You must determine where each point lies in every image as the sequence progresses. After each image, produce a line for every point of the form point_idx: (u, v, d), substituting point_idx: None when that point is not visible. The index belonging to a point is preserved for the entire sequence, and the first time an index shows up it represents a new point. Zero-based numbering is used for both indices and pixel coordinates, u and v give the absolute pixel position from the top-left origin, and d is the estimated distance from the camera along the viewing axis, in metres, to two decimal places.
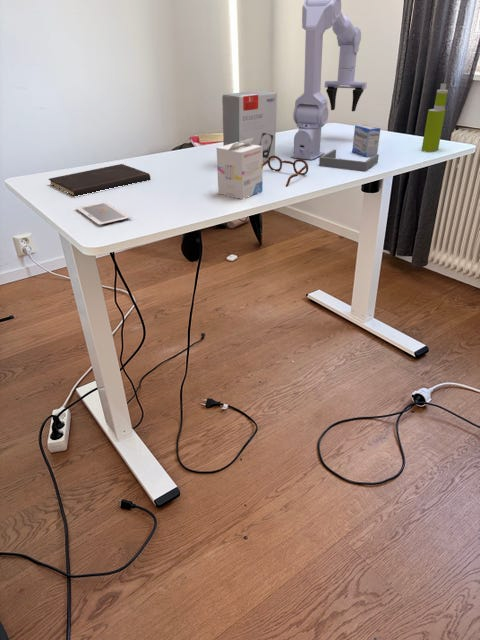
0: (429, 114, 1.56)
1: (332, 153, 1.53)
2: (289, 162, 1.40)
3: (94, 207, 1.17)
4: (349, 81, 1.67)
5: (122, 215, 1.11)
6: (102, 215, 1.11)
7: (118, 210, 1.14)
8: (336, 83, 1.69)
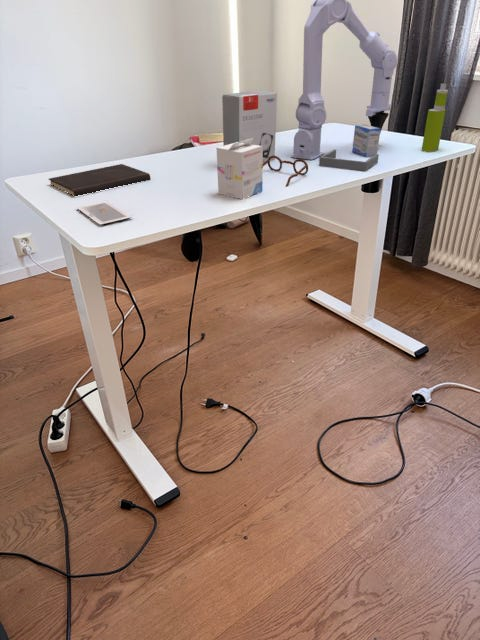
0: (429, 114, 1.56)
1: (332, 153, 1.53)
2: (289, 162, 1.40)
3: (95, 207, 1.17)
4: None
5: (123, 215, 1.11)
6: (103, 215, 1.12)
7: (119, 210, 1.15)
8: (382, 109, 1.58)
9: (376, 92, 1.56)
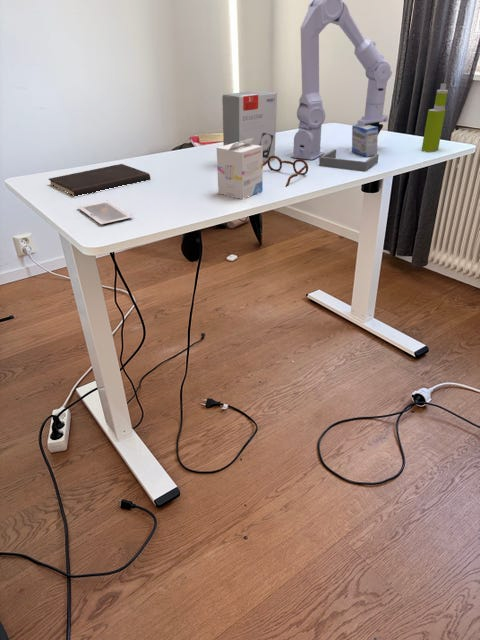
0: (429, 114, 1.56)
1: (332, 153, 1.53)
2: (289, 162, 1.40)
3: (96, 206, 1.17)
4: None
5: (124, 215, 1.11)
6: (104, 215, 1.12)
7: (120, 210, 1.15)
8: (374, 120, 1.55)
9: (369, 103, 1.54)
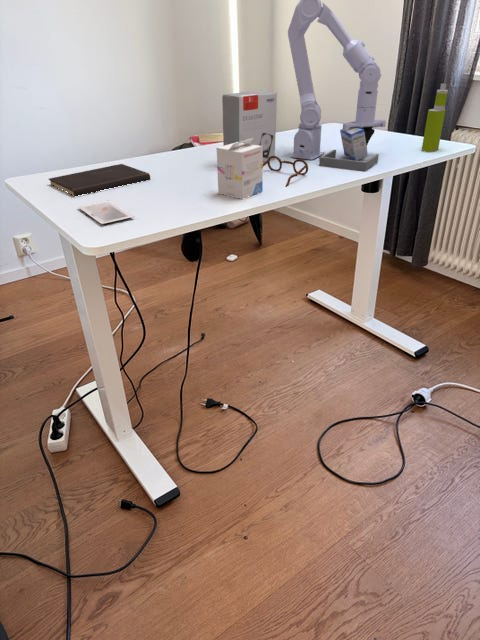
0: (429, 114, 1.56)
1: (332, 153, 1.53)
2: (289, 162, 1.40)
3: (97, 206, 1.17)
4: (374, 121, 1.51)
5: (124, 215, 1.11)
6: (105, 215, 1.12)
7: (121, 209, 1.15)
8: (362, 125, 1.49)
9: (358, 106, 1.49)
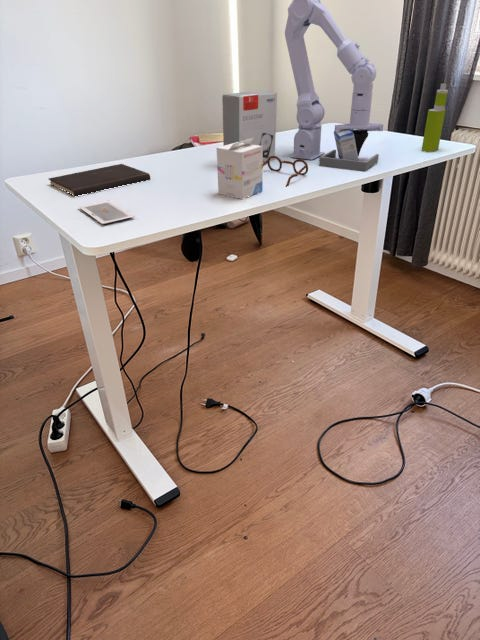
0: (429, 114, 1.56)
1: (332, 153, 1.53)
2: (289, 162, 1.40)
3: (97, 206, 1.17)
4: (367, 124, 1.46)
5: (125, 215, 1.11)
6: (105, 214, 1.12)
7: (121, 209, 1.15)
8: (353, 127, 1.46)
9: (351, 108, 1.46)
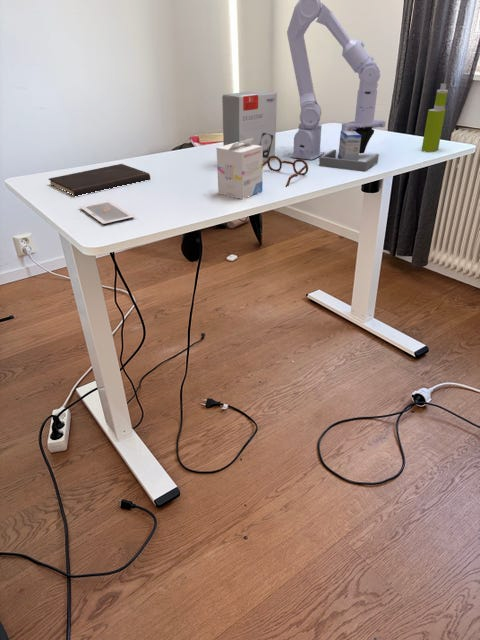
0: (429, 114, 1.56)
1: (332, 153, 1.53)
2: (289, 162, 1.40)
3: (98, 206, 1.17)
4: (373, 121, 1.50)
5: (126, 215, 1.12)
6: (106, 214, 1.12)
7: (122, 209, 1.15)
8: (361, 125, 1.49)
9: (357, 106, 1.48)
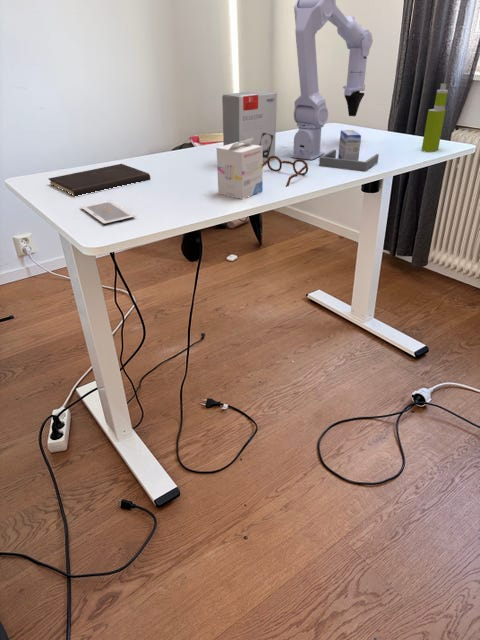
0: (429, 114, 1.56)
1: (332, 153, 1.53)
2: (289, 162, 1.40)
3: (99, 206, 1.17)
4: None
5: (127, 214, 1.12)
6: (107, 214, 1.12)
7: (123, 209, 1.15)
8: (359, 88, 1.60)
9: (353, 72, 1.59)
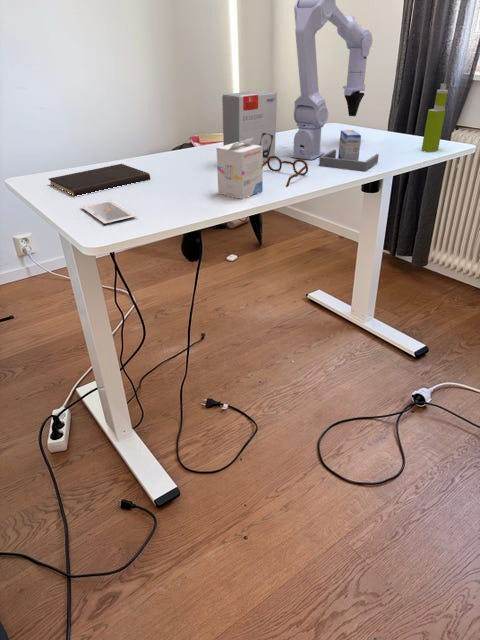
0: (429, 114, 1.56)
1: (332, 153, 1.53)
2: (289, 162, 1.40)
3: (99, 206, 1.17)
4: None
5: (127, 214, 1.12)
6: (107, 214, 1.12)
7: (123, 209, 1.15)
8: (359, 88, 1.60)
9: (353, 72, 1.59)
